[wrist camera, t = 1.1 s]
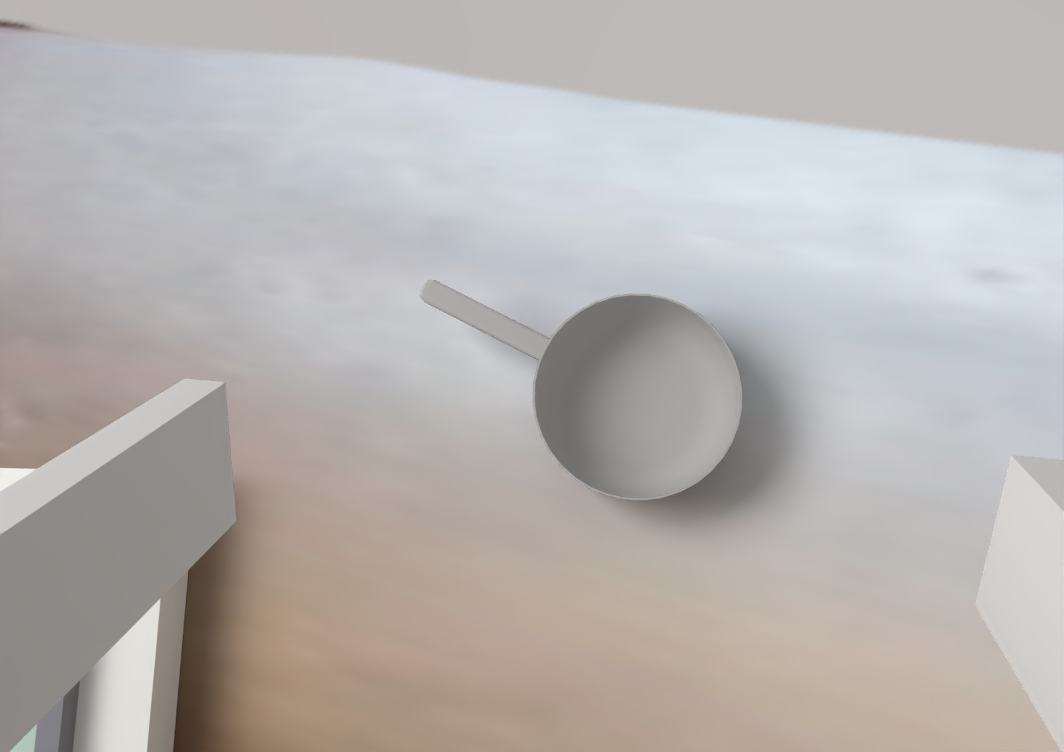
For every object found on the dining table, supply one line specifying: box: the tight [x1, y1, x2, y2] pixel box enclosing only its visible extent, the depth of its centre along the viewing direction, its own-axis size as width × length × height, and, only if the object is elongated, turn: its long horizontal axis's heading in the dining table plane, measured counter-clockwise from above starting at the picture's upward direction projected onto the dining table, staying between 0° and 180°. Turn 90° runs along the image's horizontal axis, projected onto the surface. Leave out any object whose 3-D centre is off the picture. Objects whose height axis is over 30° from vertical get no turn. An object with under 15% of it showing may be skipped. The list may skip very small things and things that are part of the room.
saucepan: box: [420, 280, 742, 500], centre depth 47 cm, size 11×18×4 cm, turn 63°
